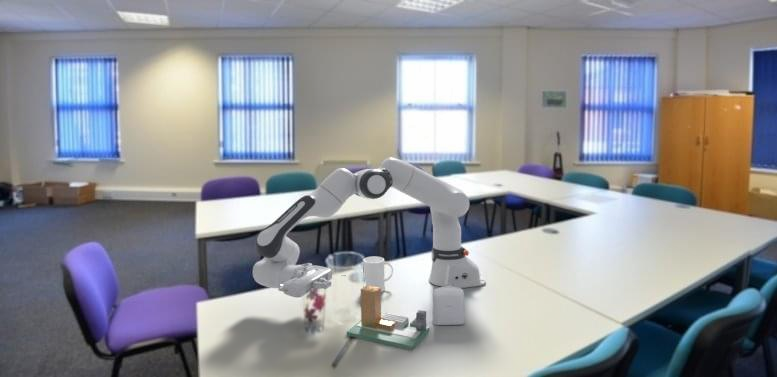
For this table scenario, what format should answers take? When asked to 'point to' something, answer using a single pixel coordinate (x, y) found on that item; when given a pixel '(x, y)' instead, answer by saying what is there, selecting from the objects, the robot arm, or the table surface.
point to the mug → (375, 271)
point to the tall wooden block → (373, 309)
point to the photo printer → (448, 306)
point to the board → (394, 331)
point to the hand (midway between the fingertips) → (329, 285)
